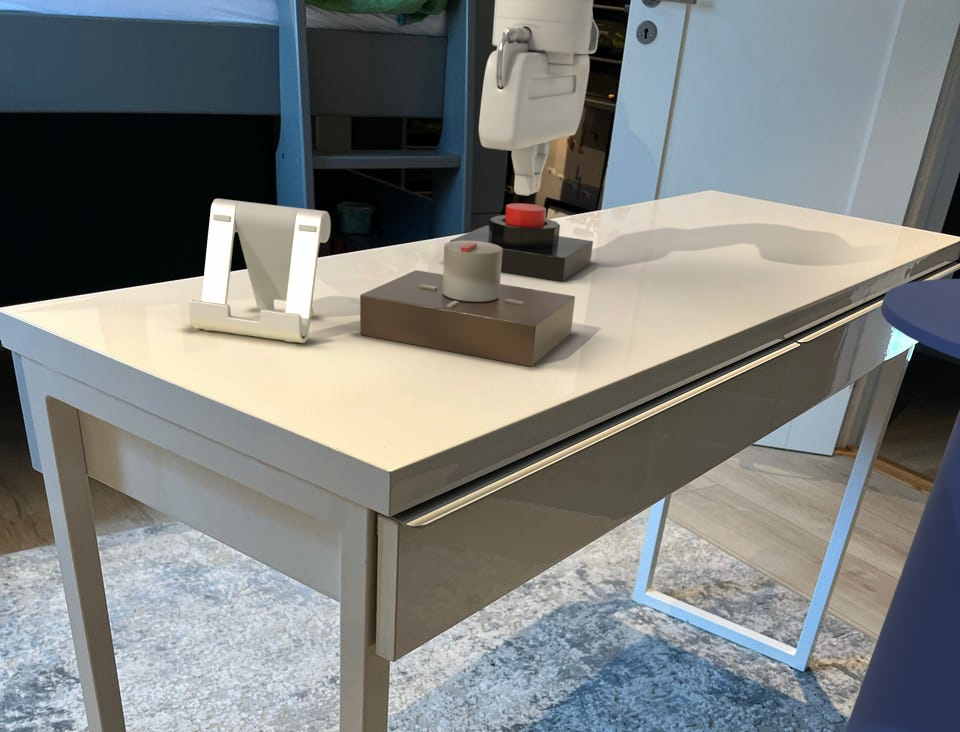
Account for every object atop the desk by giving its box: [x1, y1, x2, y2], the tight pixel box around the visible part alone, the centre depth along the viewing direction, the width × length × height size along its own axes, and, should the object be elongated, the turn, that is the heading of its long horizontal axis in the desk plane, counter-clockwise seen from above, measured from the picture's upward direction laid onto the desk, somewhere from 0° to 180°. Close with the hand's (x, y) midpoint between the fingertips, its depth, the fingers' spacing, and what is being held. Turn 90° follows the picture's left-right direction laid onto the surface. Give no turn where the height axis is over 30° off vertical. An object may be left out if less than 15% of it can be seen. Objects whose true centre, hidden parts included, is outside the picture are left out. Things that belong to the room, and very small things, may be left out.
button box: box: [449, 214, 594, 282], centre depth 97 cm, size 12×10×4 cm
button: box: [504, 202, 547, 226], centre depth 96 cm, size 4×4×2 cm
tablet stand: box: [188, 198, 332, 344], centre depth 71 cm, size 9×8×8 cm
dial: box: [442, 241, 503, 302], centre depth 73 cm, size 4×4×4 cm
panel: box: [359, 269, 576, 367], centre depth 75 cm, size 14×10×3 cm
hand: (526, 193), depth 95 cm, fingers closed
